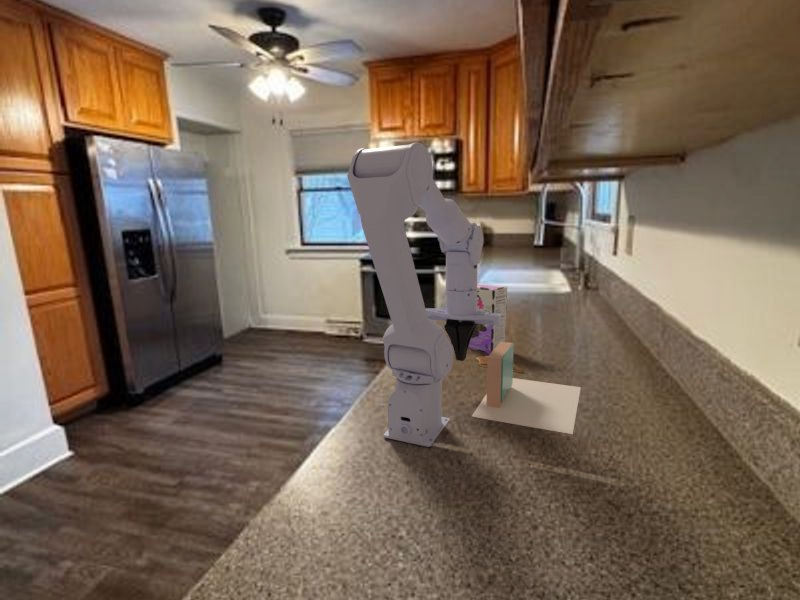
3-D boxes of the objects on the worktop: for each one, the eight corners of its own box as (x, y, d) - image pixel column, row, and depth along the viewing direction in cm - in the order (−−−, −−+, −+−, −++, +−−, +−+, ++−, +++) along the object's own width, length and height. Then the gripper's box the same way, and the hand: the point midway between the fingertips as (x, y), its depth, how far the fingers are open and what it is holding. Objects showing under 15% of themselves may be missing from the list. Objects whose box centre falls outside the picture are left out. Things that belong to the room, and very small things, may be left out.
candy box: (449, 343, 119) (449, 282, 115) (464, 339, 122) (464, 279, 119) (491, 355, 108) (493, 288, 105) (506, 350, 112) (508, 285, 109)
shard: (523, 378, 95) (524, 370, 95) (489, 381, 94) (490, 373, 93) (503, 361, 105) (503, 354, 105) (472, 364, 104) (472, 356, 104)
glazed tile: (501, 408, 78) (502, 359, 77) (486, 405, 80) (487, 357, 78) (512, 387, 87) (514, 343, 86) (499, 385, 88) (500, 341, 87)
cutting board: (572, 437, 69) (572, 434, 69) (471, 419, 76) (471, 416, 76) (580, 390, 87) (580, 387, 87) (498, 378, 94) (498, 376, 93)
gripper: (505, 287, 83) (503, 357, 86) (432, 283, 89) (432, 348, 92) (497, 293, 77) (495, 368, 80) (418, 289, 83) (419, 359, 86)
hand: (461, 359), depth 85 cm, fingers closed
